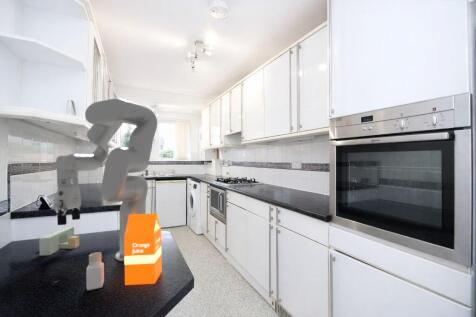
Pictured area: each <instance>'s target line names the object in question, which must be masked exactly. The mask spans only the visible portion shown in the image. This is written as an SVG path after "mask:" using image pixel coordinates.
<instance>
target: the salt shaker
mask: <svg viewBox="0 0 476 317" xmlns="http://www.w3.org/2000/svg"><path fill="white" fill-rule="evenodd" d="M102 257H103V256H102V252H100V251H97V252H92V253H90V254H89V255H88V265H87V267H86V274H85V276H86V279H85V280H86V290H87V291H92V290H96V289H101V288H102V287H103V285H104V283H105V263H104V262H102Z"/></svg>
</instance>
